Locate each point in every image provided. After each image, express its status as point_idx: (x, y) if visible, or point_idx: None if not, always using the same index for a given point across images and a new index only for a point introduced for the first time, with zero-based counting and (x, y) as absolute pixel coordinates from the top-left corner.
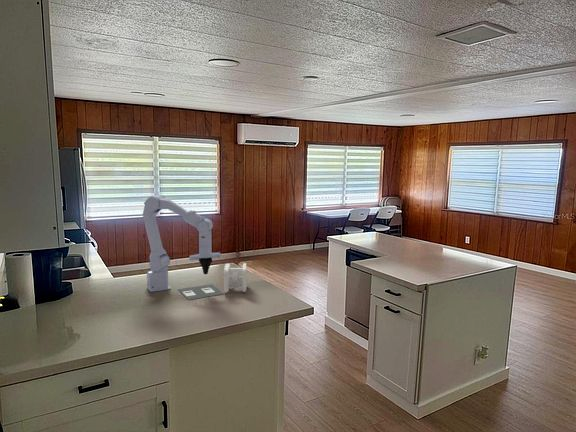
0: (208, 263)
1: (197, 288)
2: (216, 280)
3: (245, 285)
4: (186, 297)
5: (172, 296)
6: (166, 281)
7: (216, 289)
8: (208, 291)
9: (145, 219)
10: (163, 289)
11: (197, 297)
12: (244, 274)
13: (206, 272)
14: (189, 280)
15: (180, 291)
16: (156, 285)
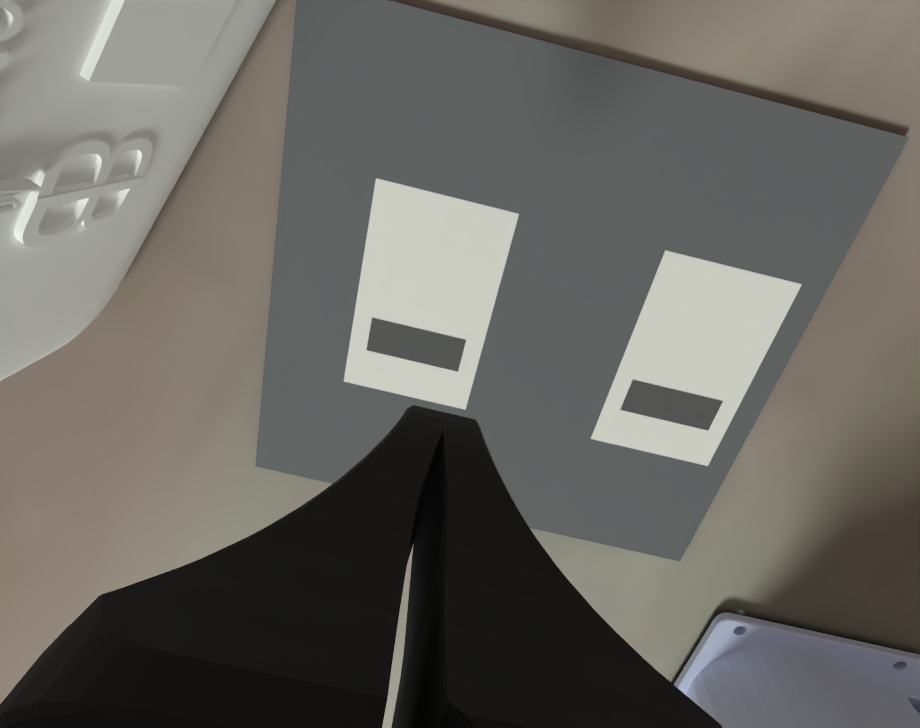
0: (347, 585)
1: (489, 449)
2: (144, 542)
3: None
4: (840, 246)
5: (898, 415)
6: (788, 722)
7: (306, 255)
8: (446, 257)
9: None
10: (803, 633)
11: (738, 131)
12: None
13: (441, 426)
14: (396, 693)
15: (713, 487)
16: (889, 712)
